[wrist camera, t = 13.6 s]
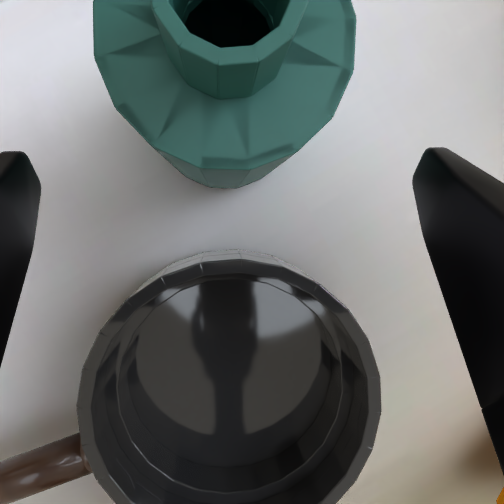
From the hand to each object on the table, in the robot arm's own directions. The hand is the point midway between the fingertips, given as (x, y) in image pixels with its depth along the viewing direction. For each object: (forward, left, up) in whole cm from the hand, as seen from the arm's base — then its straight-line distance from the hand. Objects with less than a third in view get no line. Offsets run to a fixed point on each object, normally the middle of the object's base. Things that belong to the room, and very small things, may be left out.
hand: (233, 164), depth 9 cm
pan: (-7, -6, -11) cm, 15 cm away
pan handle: (-16, -1, -9) cm, 18 cm away
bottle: (+3, +2, -11) cm, 12 cm away
